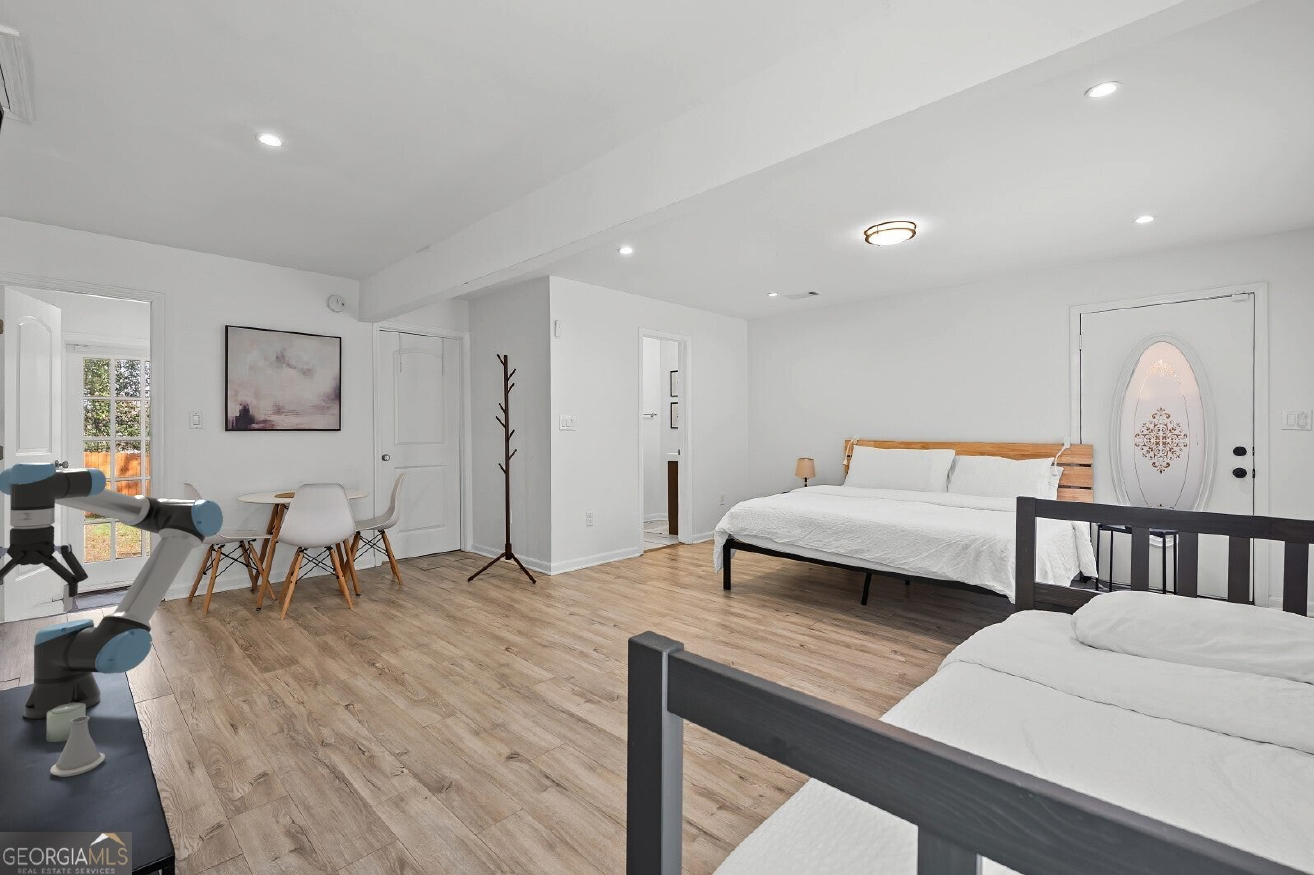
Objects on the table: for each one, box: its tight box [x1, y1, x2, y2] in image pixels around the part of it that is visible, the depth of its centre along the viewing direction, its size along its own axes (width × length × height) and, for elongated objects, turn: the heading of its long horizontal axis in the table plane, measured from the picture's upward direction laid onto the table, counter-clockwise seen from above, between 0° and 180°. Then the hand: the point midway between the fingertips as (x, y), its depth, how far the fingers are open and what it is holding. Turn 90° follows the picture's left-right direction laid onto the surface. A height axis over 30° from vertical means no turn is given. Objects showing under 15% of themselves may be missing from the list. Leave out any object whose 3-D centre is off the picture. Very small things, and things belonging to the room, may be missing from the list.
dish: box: [49, 751, 106, 778], centre depth 137 cm, size 9×9×1 cm
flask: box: [55, 715, 101, 770], centre depth 138 cm, size 7×7×10 cm
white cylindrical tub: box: [46, 703, 87, 743], centre depth 152 cm, size 7×7×7 cm
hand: (30, 613), depth 146 cm, fingers open, 13 cm apart
